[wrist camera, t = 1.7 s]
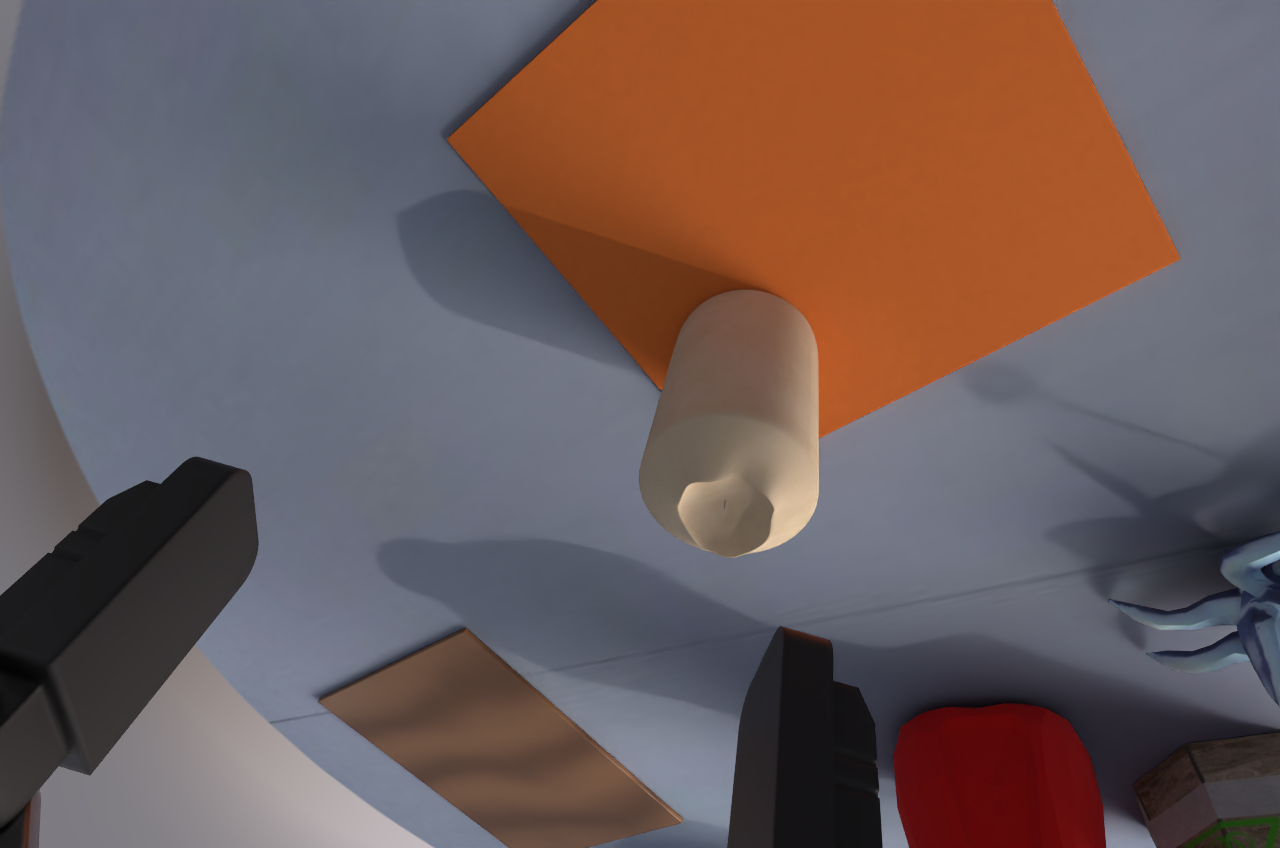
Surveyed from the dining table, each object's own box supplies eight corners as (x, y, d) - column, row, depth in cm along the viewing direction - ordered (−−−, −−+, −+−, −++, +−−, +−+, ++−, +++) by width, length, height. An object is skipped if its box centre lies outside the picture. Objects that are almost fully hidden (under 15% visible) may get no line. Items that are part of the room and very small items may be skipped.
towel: (449, 137, 29) (446, 139, 29) (907, -287, 21) (908, -288, 21) (736, 475, 36) (736, 479, 36) (1177, 255, 27) (1181, 259, 27)
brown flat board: (319, 698, 52) (317, 702, 52) (465, 627, 45) (464, 631, 45) (529, 859, 59) (528, 863, 59) (683, 818, 52) (682, 822, 52)
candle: (650, 323, 32) (594, 482, 24) (779, 262, 30) (764, 416, 22) (718, 428, 34) (687, 605, 26) (842, 380, 32) (850, 558, 24)
